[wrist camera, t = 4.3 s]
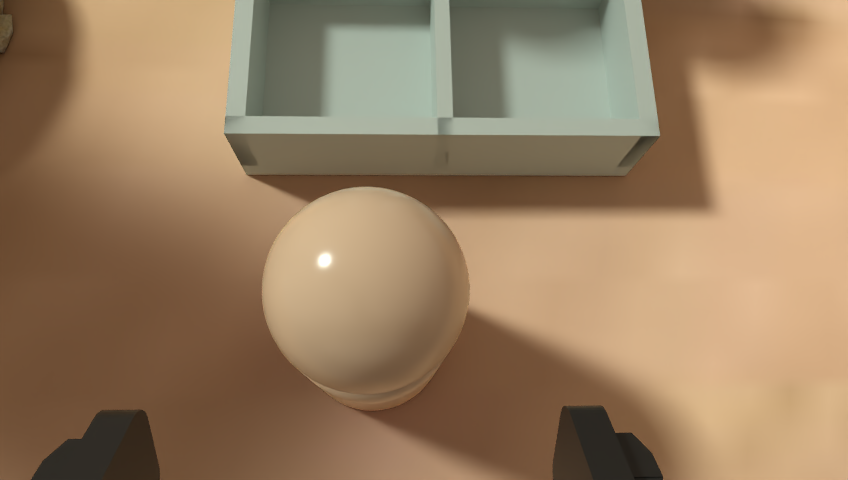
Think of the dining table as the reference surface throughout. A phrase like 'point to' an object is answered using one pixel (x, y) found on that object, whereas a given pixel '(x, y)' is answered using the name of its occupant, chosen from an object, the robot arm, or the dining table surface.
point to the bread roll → (5, 28)
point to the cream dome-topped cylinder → (366, 295)
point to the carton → (440, 87)
